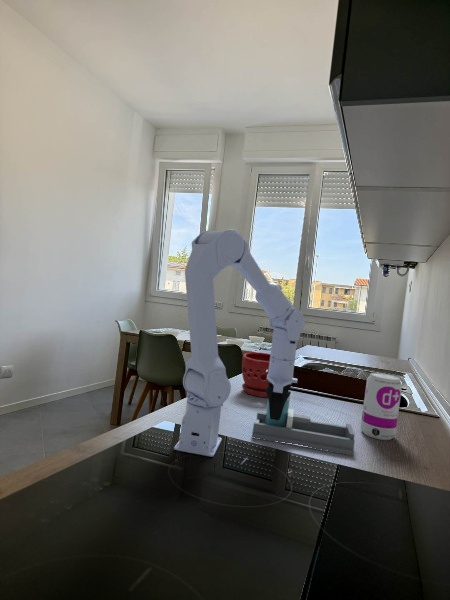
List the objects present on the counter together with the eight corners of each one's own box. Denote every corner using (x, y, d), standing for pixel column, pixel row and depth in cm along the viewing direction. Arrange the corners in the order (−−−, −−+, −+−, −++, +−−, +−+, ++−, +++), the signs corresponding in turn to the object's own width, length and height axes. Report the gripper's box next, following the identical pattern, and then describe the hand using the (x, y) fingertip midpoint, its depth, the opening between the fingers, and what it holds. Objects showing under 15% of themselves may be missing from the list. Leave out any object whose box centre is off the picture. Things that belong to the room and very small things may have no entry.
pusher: (308, 438, 94) (311, 420, 94) (285, 434, 95) (287, 416, 95) (308, 429, 100) (310, 411, 100) (286, 425, 101) (288, 408, 101)
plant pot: (236, 386, 139) (241, 350, 139) (276, 389, 140) (280, 354, 139) (240, 397, 126) (245, 357, 126) (283, 401, 127) (288, 362, 126)
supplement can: (399, 442, 102) (408, 381, 101) (365, 438, 102) (373, 377, 101) (387, 430, 110) (395, 374, 109) (356, 427, 110) (363, 370, 109)
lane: (353, 456, 90) (355, 437, 90) (251, 438, 94) (253, 420, 94) (347, 438, 101) (349, 421, 101) (256, 422, 105) (258, 406, 104)
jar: (284, 429, 95) (288, 398, 95) (262, 424, 97) (266, 394, 96) (288, 422, 100) (292, 393, 100) (267, 418, 102) (270, 389, 101)
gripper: (299, 366, 90) (292, 428, 90) (299, 355, 104) (293, 409, 105) (267, 361, 91) (259, 423, 92) (271, 351, 105) (264, 404, 106)
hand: (275, 415), depth 98 cm, fingers closed on jar, 5 cm apart
